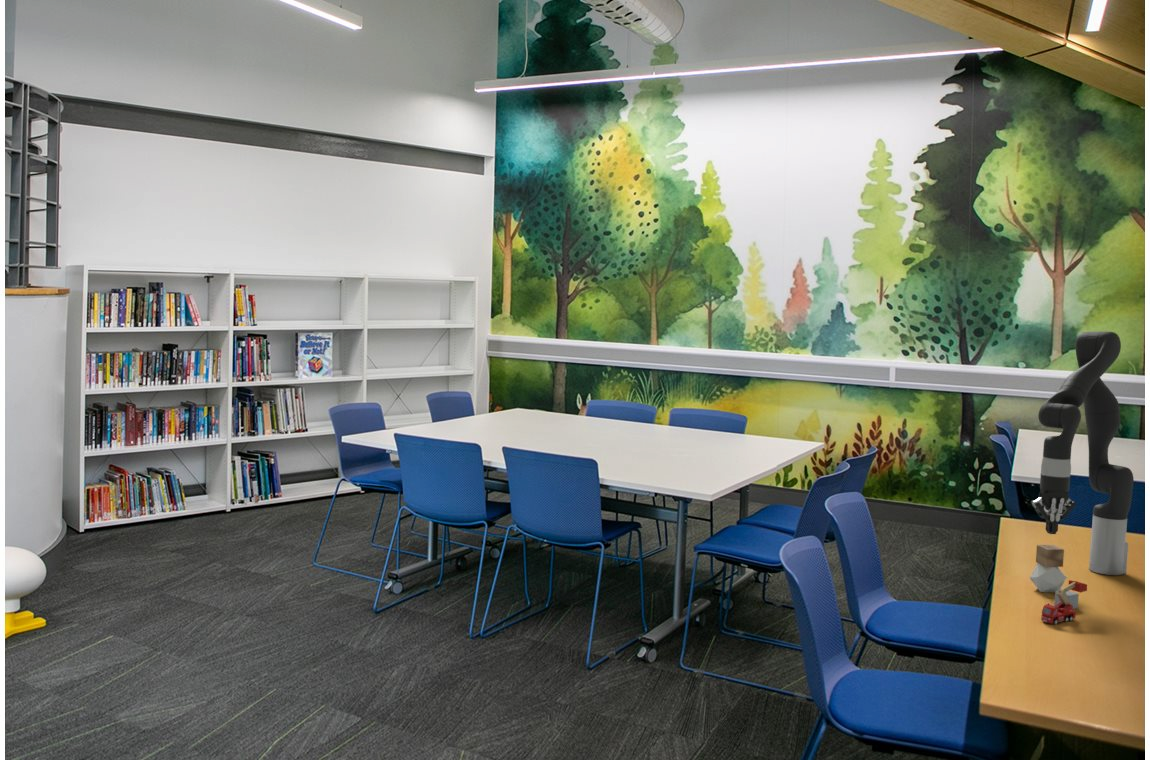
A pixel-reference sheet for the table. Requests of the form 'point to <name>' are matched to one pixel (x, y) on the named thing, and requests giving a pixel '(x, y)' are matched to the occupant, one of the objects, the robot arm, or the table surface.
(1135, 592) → the table surface
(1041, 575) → the die
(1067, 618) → the toy fire truck
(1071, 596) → the slate block
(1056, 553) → the walnut block
